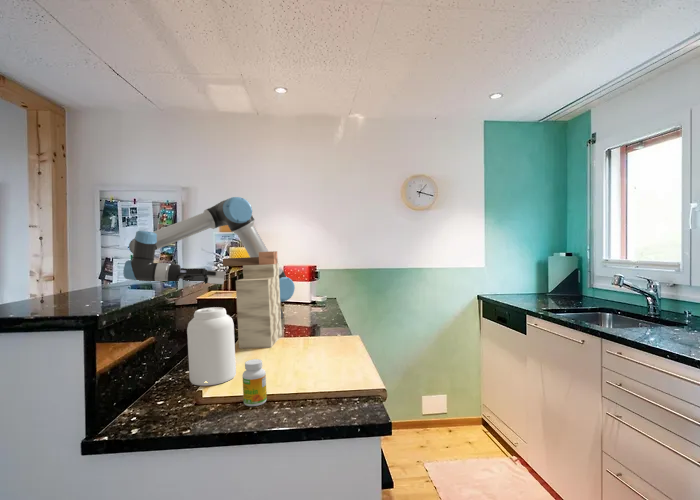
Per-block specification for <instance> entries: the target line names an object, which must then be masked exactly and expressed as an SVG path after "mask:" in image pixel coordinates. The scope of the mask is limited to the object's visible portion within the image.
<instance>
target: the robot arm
mask: <svg viewBox="0 0 700 500" xmlns="http://www.w3.org/2000/svg"><path fill="white" fill-rule="evenodd" d="M254 223H255V217H253V209H252V205H251V203H250V202H249V201H248V200H247V199H245V198H244V197H240V196H232V197H229V198H227V199H224V200H222V201H220V202H218V203H217V204H214V205H213V206H211V207H208V208H206V209H204V210H203V212H202V213H199V214H197V215H194V216H191V217H188V218H186V219H183V220H181V221H177V222H176V223H173V224H171V225H167V226H165V227H162V228H160V229H157V230H155V231H147V230H137V231H136V232H135V236H134V238H132V240H130V242H129V244H128V249H129V251H130V252H131V254H132V258H131V259H130V260H126V261H125V263H124V267H123V278H124V279H125V280H131V281H136V280H139V282H151V281H167V282H168V281H180V279H181V280H182V281H183V280H185V281H184V282H190V281H204V282H205V284H204V285H206V284H216V285H224V283H225V273H226V272H225V271H222V270H214V269H213V270H211V269H206V268H205V267H204V268H202V267H201V268H183V267H182V268H181V265H180V264H169V263H164V262H163V263H162V262H161V263H160V262H155V254H156V250H158V249H162V248H164V247H166V246H169V245H171V244H174V243H176V242H179V241H181V240H184V239H187V238H189V237H191V236H193V235H196V234H198V233H201V232H204V231H206V230H208V229H213V230H214V229H217V228H220V227H225V226H228V228H229V230H230V232H231V233H235V234H236V235H237V237H238V239H239V241H240V242H241V244H242V245H243V248H244V249H245V250H246V252H247V254H248V256H249V257H259V252H269V250H268V248H267V247H266V244H265V242H264V241H263V239H262V237H261V236H260V234H259V232H258V230H257V228H256V226H255V225H254ZM188 280H189V281H188ZM279 284H280V303H282V302H287V301H289V300H290V299H291V298H292V296H294V293H295V291H296V290H295V289H296V287H295V282H294V281H293V280H292V278H290V277H287V275H286V274H285V272H284V270H283V269H282V268H279ZM283 318H284V312H283V309H282V308H281V320H282V319H283Z"/></svg>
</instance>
